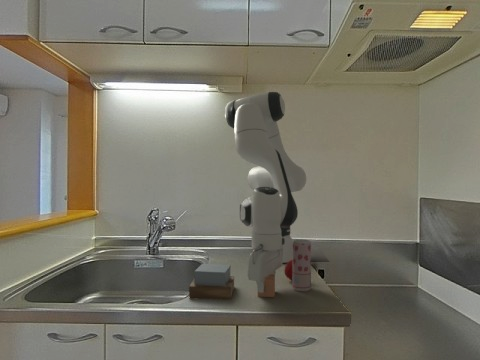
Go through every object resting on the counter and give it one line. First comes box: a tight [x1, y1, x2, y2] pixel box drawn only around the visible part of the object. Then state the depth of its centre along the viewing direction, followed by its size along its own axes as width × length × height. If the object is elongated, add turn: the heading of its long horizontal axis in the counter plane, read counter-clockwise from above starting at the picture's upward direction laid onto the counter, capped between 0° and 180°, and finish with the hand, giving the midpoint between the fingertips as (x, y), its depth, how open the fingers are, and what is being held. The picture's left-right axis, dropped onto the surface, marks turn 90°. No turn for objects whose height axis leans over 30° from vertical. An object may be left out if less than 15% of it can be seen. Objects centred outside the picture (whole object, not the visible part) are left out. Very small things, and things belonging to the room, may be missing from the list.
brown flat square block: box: [188, 275, 235, 300], centre depth 118 cm, size 12×12×4 cm
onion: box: [283, 258, 293, 282], centre depth 130 cm, size 6×6×8 cm
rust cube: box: [257, 274, 276, 298], centre depth 117 cm, size 5×5×5 cm
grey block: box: [193, 263, 231, 286], centre depth 118 cm, size 9×9×4 cm
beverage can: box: [291, 238, 312, 292], centre depth 122 cm, size 6×6×15 cm
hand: (266, 288), depth 117 cm, fingers closed on rust cube, 6 cm apart
